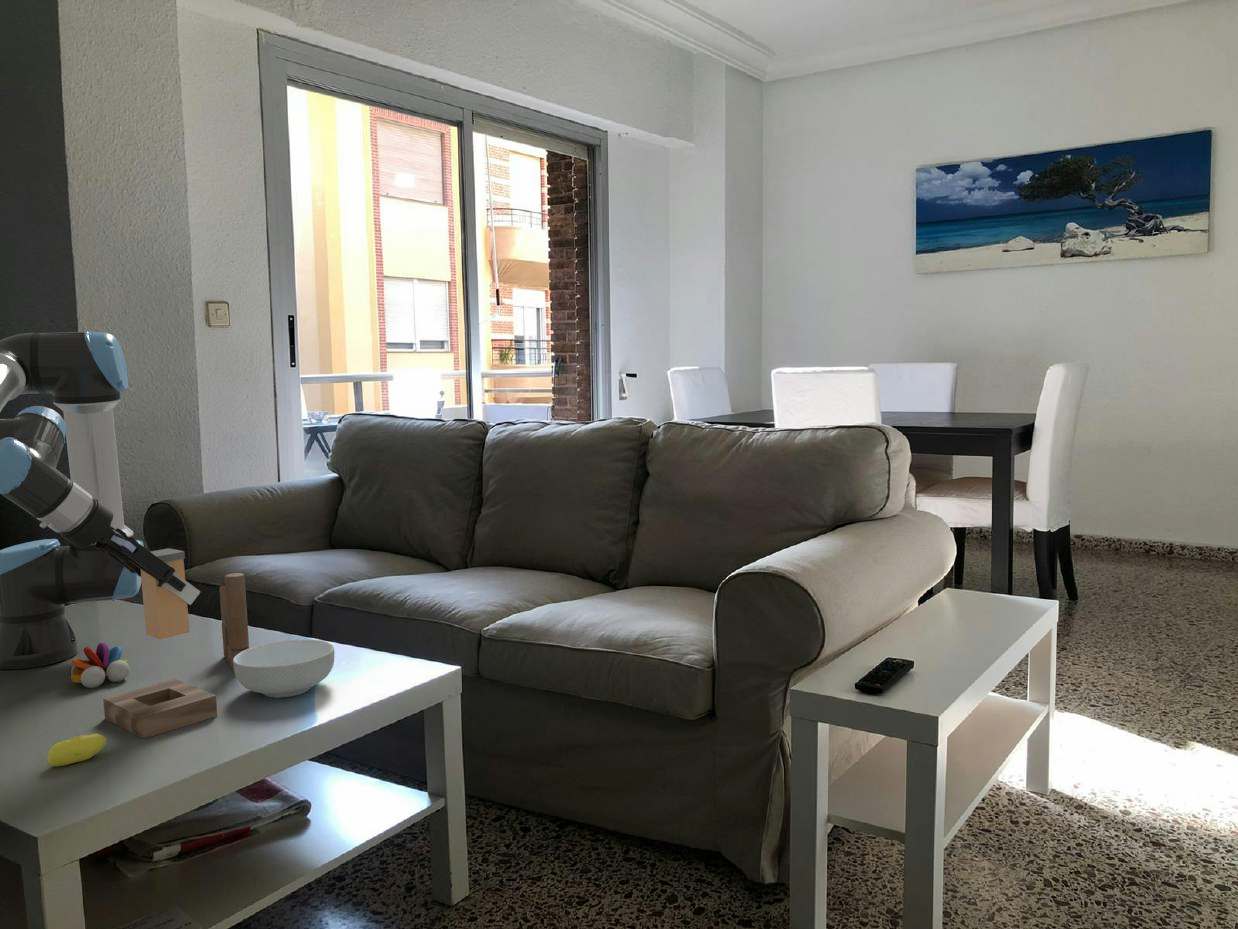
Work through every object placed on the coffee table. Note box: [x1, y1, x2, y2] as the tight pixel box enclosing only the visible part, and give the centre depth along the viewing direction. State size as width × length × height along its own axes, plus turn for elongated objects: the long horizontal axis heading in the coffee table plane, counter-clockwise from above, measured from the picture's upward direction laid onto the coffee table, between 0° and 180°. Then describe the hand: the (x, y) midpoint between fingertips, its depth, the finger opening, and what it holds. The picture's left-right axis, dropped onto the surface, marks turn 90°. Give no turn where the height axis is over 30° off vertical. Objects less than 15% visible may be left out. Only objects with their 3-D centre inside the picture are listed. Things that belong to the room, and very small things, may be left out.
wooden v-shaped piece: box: [218, 572, 251, 671], centre depth 187 cm, size 4×11×18 cm, turn 31°
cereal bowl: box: [233, 638, 335, 699], centre depth 171 cm, size 17×17×7 cm
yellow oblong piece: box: [46, 732, 107, 767], centre depth 142 cm, size 4×8×4 cm, turn 134°
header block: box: [102, 678, 218, 740], centre depth 159 cm, size 14×12×4 cm
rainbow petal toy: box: [70, 641, 130, 689], centre depth 178 cm, size 8×10×7 cm
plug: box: [141, 547, 190, 640], centre depth 163 cm, size 5×5×14 cm
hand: (186, 595), depth 166 cm, fingers closed on plug, 5 cm apart
